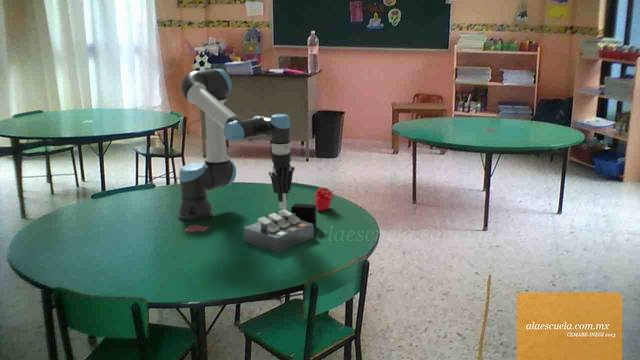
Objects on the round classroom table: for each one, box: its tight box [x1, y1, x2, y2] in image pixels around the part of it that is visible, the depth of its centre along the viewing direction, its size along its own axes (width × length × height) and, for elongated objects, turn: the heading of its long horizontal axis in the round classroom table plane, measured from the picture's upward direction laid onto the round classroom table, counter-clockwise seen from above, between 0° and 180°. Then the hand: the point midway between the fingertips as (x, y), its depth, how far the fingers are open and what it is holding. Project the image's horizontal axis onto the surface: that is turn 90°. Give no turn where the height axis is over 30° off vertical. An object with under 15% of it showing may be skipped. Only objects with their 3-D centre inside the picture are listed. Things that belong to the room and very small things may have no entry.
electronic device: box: [290, 203, 317, 230], centre depth 267 cm, size 4×10×10 cm, turn 78°
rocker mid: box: [267, 212, 290, 228], centre depth 254 cm, size 9×3×2 cm, turn 49°
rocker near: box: [256, 216, 279, 233], centre depth 249 cm, size 9×3×2 cm, turn 49°
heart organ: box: [314, 186, 336, 212], centre depth 291 cm, size 10×12×12 cm
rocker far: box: [277, 209, 300, 224], centre depth 258 cm, size 9×3×2 cm, turn 49°
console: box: [243, 213, 315, 254], centre depth 255 cm, size 19×21×9 cm
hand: (282, 208), depth 259 cm, fingers closed
